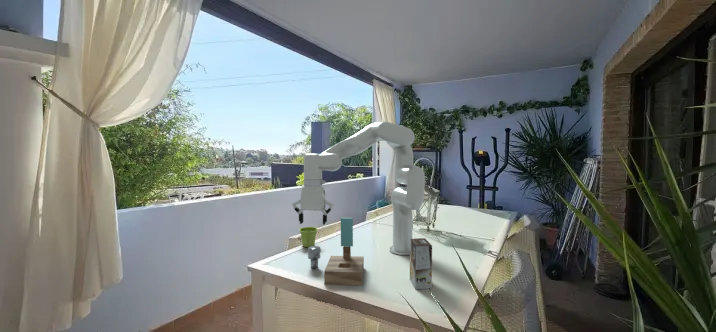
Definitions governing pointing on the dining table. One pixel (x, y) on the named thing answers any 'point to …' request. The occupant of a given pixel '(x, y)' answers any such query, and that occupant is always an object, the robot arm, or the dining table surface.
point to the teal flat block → (346, 231)
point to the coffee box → (421, 263)
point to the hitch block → (344, 269)
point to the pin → (314, 256)
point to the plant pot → (308, 236)
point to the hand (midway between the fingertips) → (312, 223)
